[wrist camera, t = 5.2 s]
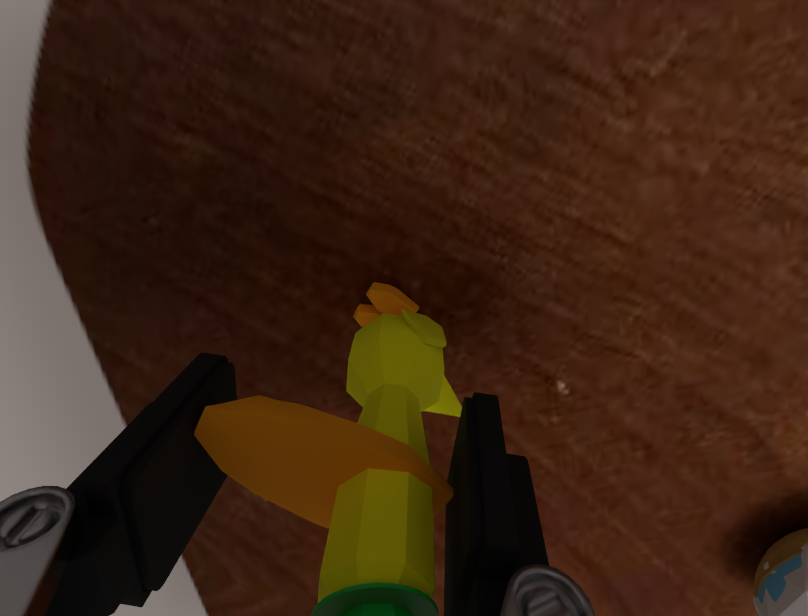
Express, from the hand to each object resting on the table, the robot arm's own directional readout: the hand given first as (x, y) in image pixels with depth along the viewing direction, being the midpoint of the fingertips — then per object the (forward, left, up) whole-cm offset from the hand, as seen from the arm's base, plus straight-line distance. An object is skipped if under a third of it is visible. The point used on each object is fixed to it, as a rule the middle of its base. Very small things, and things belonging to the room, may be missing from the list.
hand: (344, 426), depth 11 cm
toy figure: (0, 0, -7) cm, 7 cm away
